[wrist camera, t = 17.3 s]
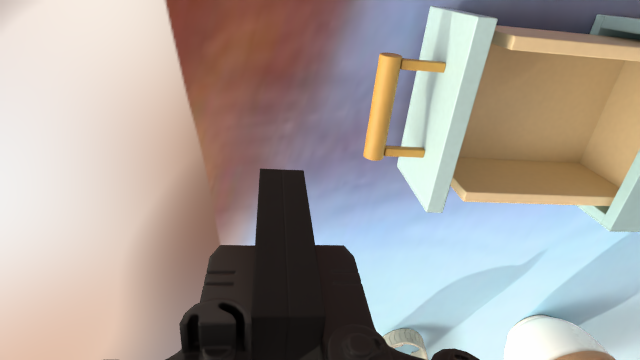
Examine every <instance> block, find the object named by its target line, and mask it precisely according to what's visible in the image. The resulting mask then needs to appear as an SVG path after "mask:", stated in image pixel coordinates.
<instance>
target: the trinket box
mask: <svg viewBox="0 0 640 360" xmlns="http://www.w3.org/2000/svg"><path fill="white" fill-rule="evenodd" d="M504 360H615V359H614V358H613V357H612V356H611V355H610V354H609V353H608V352H607V351H606V350H605V349H604V348H603V347H602V346H601V345H600V344H599V343H598V341H596V340H595V339H594V338H593V337H592V336H591V335H590V334H588V333H587V332H586V331H584V330H583V329H582V328H580V327H578V326H577V325H575V324H573V323H571V322H568V321H565V320H563V319H558V318H551V317H549V316H546V315H535V316H531V317H528V318H525V319H523V320H521V321H520V322H518V323H517V324H516V325H515V326H514V327H513V328H512V329H511V330H510V332H509V333H508V336H507V343H506V346H505V351H504Z"/></svg>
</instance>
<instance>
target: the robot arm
mask: <svg viewBox="0 0 640 360" xmlns="http://www.w3.org/2000/svg"><path fill="white" fill-rule="evenodd" d="M180 334H181V344H182V349H181V350H180V351H179V352H178V353H176V354H175V355H173V356H171V357H170V358H168V359H166V360H426V359H423V358H419V357H415V356H411V355H408V354H405V353H402V352H399V351H397V350H395V349H394V348H392V347H390V346H389V345H388V344H387V343H386V341H385V339H384V338H383V337H382V336H381V335H380V334H379V333H378V332H376V330H375V327H374V325H373V321H372V318H371V314H370V311H369V307H368V304H367V300H366V297H365V293H364V290H363V286H362V284H361V279H360V276H359V273H358V269H357V265H356V262H355V258H354V256H353V255H352V254H351V253H350V252H349V251H348V250H347V248H346V247H345V246H338V245H315V242H314V235H313V229H312V222H311V216H310V209H309V203H308V197H307V190H306V184H305V177H304V171H303V170H278V169H260V178H259V194H258V210H257V226H256V242H255V246H241V245H220V246H219V247H218V248H217V249H216V251H215V252H214V253H213V254H212V255H211V256H210V259H209V264H208V268H207V274H206V277H205V282H204V286H203V290H202V295H201V300H200V303H198V304H196V305H194V306H193V307H192V308H191V309H189V310H188V311H187V312H186V313H185V315H184V316H183V319H182V320H181V322H180ZM431 360H479V359H478V358H476V357H475V356H473V355H471V354H469V353H468V352H465V351H461V350H457V349H443V350H441V351H439V352H437V353H435V354H434V355H433V357H432V359H431Z"/></svg>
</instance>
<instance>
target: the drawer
mask: <svg viewBox="0 0 640 360" xmlns="http://www.w3.org/2000/svg"><path fill="white" fill-rule="evenodd" d="M497 21H498V19H497V18H494V17H489V16H484V15H480V14H475V13H470V12H465V11H460V10H455V9H450V8H446V7H436V6H430V10H429V15H428V20H427V25H426V30H425V34H424V39H423V44H422V49H421V53H420V58H419V60H417V59H405V58H402V56H401V55H398V54H394V53H380V56H379V62H378V68H377V74H376V80H375V86H374V93H373V99H372V105H371V111H370V117H369V123H368V130H367V136H366V142H365V148H364V157H365V158H367V159H370V160H376V161H377V160H382V159H383V156H395V157H399V159H398V164H397V166H398V168H399V170H400V171H401V173H402V174H403V176H404V177H405V179H406V181H407V182H408V184H409V185H410V187H411V189H412V190H413V192H414V193H415V195H416V196H417V198H418V200H419V201H420V203H421V204H422V206H423V207H424V209H425V211H426V212H434V213H442V212H443V209H444V206H445V202H446V199H447V195H448V192H449V188H450V186H451V187H452V188H453V189H454V191H455V192H456V193H457V194H458V195H459V197H460V198H461V199H462V200H463V201H464V202H495V203H527V204H559V205H590V206H610V205H611V204H612V202H613V200H614V198H615V196H616V194H617V192H618V190H619V188H620V186H621V184H622V182H623V180H624V178H625V176H626V175H627V173H628V171H629V169H630V167H631V165H632V163H633V161H634V159H635V157H636V155H637V153H638V151H639V149H640V40H638V39H631V38H621V37H611V36H601V35H591V34H580V33H570V32H560V31H550V30H540V29H530V28H520V27H510V26H499V25H496V24H497ZM400 69H402V70H415V71H417V73H416V77H415V82H414V87H413V92H412V97H411V101H410V106H409V111H408V116H407V120H406V125H405V130H404V135H403V140H402V144H401V146H385V145H386V140H387V135H388V129H389V124H390V119H391V114H392V108H393V103H394V98H395V92H396V87H397V82H398V76H399V71H400Z"/></svg>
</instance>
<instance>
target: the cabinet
mask: <svg viewBox="0 0 640 360" xmlns="http://www.w3.org/2000/svg"><path fill="white" fill-rule="evenodd" d="M590 34H591V35H601V36H611V37H621V38H631V39H638V40H640V19H639V18H630V17H621V16H611V15H602V14H598V15H597V16H596V19H595V21H594V24H593V26H592V29H591V31H590ZM576 206H578V207H579V208H580V209H581V210H583V211H584V212H585V213H587V214H588V215H589V216H590V217H592V218H593V219H594V220H596V221H597V222H598V223H600V224H601V225H602V226H603V227H604V228H606V229H607V230H608V231H615V232H640V149H639V151H638V153H637V155H636V157H635V159H634V161H633V163H632V165H631V167H630V169H629V171H628V173H627V175H626V176H625V178H624V180H623V182H622V184H621V186H620V188H619V190H618V192H617V194H616V196H615V198H614V200H613V202H612V204H611V205H610V206H590V205H576Z"/></svg>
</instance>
